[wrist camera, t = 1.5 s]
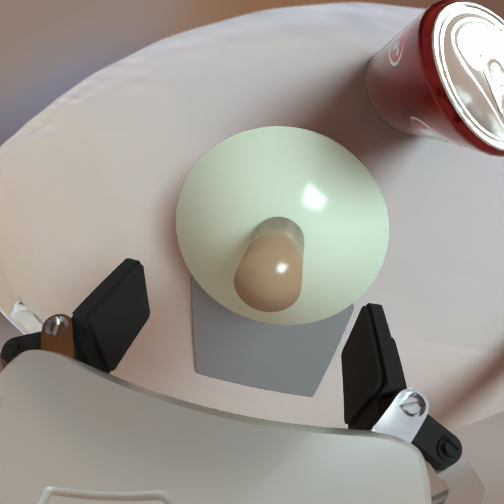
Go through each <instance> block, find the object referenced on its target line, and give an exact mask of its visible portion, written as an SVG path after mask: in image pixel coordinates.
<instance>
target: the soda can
mask: <svg viewBox="0 0 504 504" xmlns="http://www.w3.org/2000/svg"><path fill="white" fill-rule="evenodd" d="M365 84H366V91H367V94H368V97H369V100H370V102H371V104H372V106H373V108H374V109H375V110H376V112H377V113H378V115H379V116H380V117H381V118H382V119H383V120H384V121H385V122H386V123H388V124H389V125H390V126H392V127H393V128H395V129H397V130H399V131H401V132H404V133H407V134H411V135H416V136H421V137H426V138H430V139H435V140H439V141H443V142H447V143H451V144H455V145H458V146H462V147H465V148H469V149H472V150H475V151H479V152H482V153H485V154H488V155H492V156H498V157H504V21H503V20H502V19H501V18H499V17H498V16H497V15H496V14H494V13H493V12H491V11H489V10H488V9H486V8H484V7H482V6H480V5H478V4H475V3H473V2H470V1H468V0H440V1H438V2H436V3H433V4H432V5H431V6H430V7H428V8H427V9H426V10H425V11H424V12H422V13H421V14H420V15H419V16H418V17H417V18H415V19H414V20H413V21H412V22H411V23H410V24H408V25H407V26H406V27H405V28H404V29H403V30H402V31H401V32H399V33H398V34H397V35H396V36H395V37H394V38H393V39H392V40H391V41H389V42H388V43H387V44H386V45H385V46H384V47H383V48H382V49H381V50H380V51H379V52H377V53H376V55H375V56H374V57H373V58H372V59H371V61H370V63H369V64H368V67H367V71H366V78H365Z"/></svg>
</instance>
